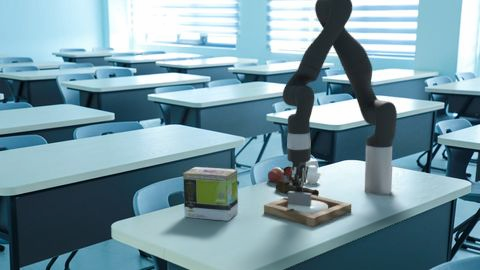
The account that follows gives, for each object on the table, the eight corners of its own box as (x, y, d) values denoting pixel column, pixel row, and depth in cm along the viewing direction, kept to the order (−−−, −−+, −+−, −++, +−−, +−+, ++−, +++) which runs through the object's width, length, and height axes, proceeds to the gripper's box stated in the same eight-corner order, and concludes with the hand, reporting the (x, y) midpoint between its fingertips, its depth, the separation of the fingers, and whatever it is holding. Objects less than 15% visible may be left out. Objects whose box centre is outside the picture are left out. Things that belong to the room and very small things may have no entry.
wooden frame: (302, 200, 213) (302, 191, 212) (351, 212, 199) (351, 203, 199) (263, 213, 199) (263, 203, 198) (313, 227, 185) (313, 217, 184)
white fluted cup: (302, 183, 234) (302, 166, 233) (306, 180, 240) (307, 162, 239) (318, 185, 232) (318, 167, 231) (322, 181, 237) (322, 163, 236)
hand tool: (319, 200, 214) (319, 187, 213) (311, 202, 211) (312, 189, 210) (281, 189, 228) (281, 177, 227) (273, 191, 225) (273, 179, 224)
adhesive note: (304, 176, 246) (304, 161, 245) (297, 173, 251) (297, 158, 250) (317, 174, 248) (317, 160, 247) (310, 171, 254) (310, 157, 252)
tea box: (238, 213, 199) (238, 168, 197) (227, 222, 190) (227, 175, 187) (195, 208, 204) (195, 165, 202) (183, 217, 195) (182, 172, 192)
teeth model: (302, 165, 238) (278, 170, 231) (302, 181, 239) (279, 186, 232) (287, 162, 244) (264, 167, 237) (288, 177, 245) (265, 183, 238)
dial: (332, 206, 202) (332, 190, 201) (321, 218, 190) (322, 201, 189) (294, 202, 207) (294, 186, 206) (282, 213, 195) (282, 196, 194)
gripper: (303, 151, 191) (304, 204, 195) (316, 142, 203) (316, 193, 207) (280, 149, 195) (281, 202, 198) (294, 141, 206) (295, 191, 210)
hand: (299, 197), depth 202 cm, fingers closed
